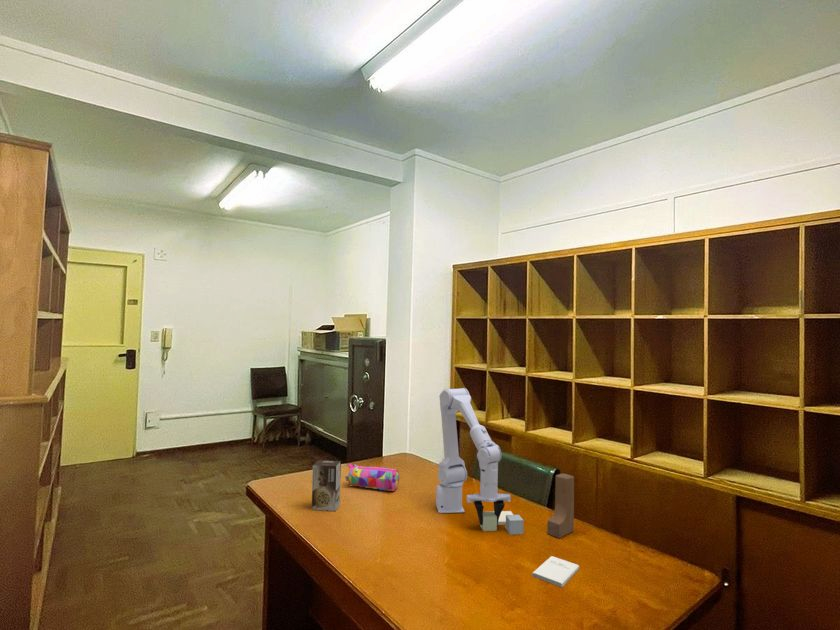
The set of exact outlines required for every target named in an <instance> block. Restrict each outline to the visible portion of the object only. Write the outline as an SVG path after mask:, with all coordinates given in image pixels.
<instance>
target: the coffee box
mask: <svg viewBox="0 0 840 630" xmlns="http://www.w3.org/2000/svg"><path fill="white" fill-rule="evenodd" d="M341 465H342V461H341V460H339V461H338V460H319V459H318V460H317V461H316V462H315V463H314V464H313V465H312V482H311V483H312V485H311V488H312V489H311V490H312V491H311V510H312V509H313V510H312V511H326V510H328V511H327V512H336V511H337V510H338V508H339V507H340V505H341V478H342V477H341V474H342V473H341V472H342V470H341V469H342V466H341Z"/></svg>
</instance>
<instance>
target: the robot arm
mask: <svg viewBox="0 0 840 630" xmlns="http://www.w3.org/2000/svg"><path fill="white" fill-rule="evenodd" d="M471 401H472V396H471V395H470V392H469V390H468V389H467V388H466V387H462V388H450V389H449V388H444V389H442V391H441V392H440V395H439V406H440V409H439V410H440V414H441V428H442V441H443V452H444V454H443V455H444V458H442V460H441V461H440V462H439V463H438V471H437V472H438V473H437V479H438V481H439V482H440V484H436V486H435V487H436V489H435V507H436V510H437V511H438V513H440V514H446V513H447V514H448V513H449V514H451V513H453V514H454V513H465V509H464V507H463V485H464V484H465V483H464V482H465V481H467V478H468V471H467V469H466V466H465V465H466V464H465V461H464V460H463V458H461V457H460V454H459V452H460V451H459V441H458V440H459V439H458V430H457V417H456V413H457V412H460V413H461V416H462V417H463V418H464V420H465V422H466V424H467V425H468V426H469V428H470V430H469V436H470V437H471V439H472V442H473V444H474V445H475V448H476V449H477V453H476V458H477V461H478V466H479V469H480V478H479V479H480V480H479V481H480V483H479V484H480V486H479V487H480V488H479V492H480V493H474V494H467V495H466V502H467V503H473V505H474V507H475V510H476V514H477V517H478V524H479V526H480V525H483V512H484V505H483V502H484V503H485V502H486V503H487V502H489V503H493V511H494V513H495V515H496V516H497V526H499V525H498V520H499V517H500V514H501V512H502V511H504V508H505V502H507V503H510V502H511V500H512V499H511V497H512V496H511V495H510V494H509V493H506V494H505V493H498V487H499V486H498V484H499V483H498V478H499V476H498V475H499V474H498V472H499V462H501V460H502V456H503V454H502V450H501V447H500V446H499V445H498V444H496V443H495V442H494V441H493V440H492V438H491V436H490V435H489V433H488V431H487V429H486V426H484V425H481V424H480V423H479V420H478V418H477V415H476V413H475V411H474V408H473V407H472V404H471V403H472V402H471Z"/></svg>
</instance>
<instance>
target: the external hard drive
mask: <svg viewBox="0 0 840 630" xmlns="http://www.w3.org/2000/svg"><path fill="white" fill-rule="evenodd" d="M578 570H580V565H579V564H576V563H573V562H570V561H568V560H565V559H562V558H560V557H556V556H552V555H551V556H549V558H547V559H546V560H545V561H544V562H542V563H541V564H540V565H539V567H538V568H536V569H535V570H534V571H533V572H532V574H531V577H533V578H535V579H539V580H541V581H544V582H546V583H549V584H552V585H554V586H557V587H560V588H563V587H564V586H565V585H566V584H567V583H568V582H569V580H571V579H572V577H573V576H574V575H575V574H576V573H577V572H578Z"/></svg>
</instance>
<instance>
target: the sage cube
mask: <svg viewBox="0 0 840 630" xmlns="http://www.w3.org/2000/svg"><path fill="white" fill-rule="evenodd" d="M493 511H494V510H493ZM493 511H492V510H491V512H486V511H483V525H480V524H479V526H480V528H481V530H482V531H483V532H495V531H496V532H497V531H498V525H497V516H496V515H495V513H494V512H493Z"/></svg>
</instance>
